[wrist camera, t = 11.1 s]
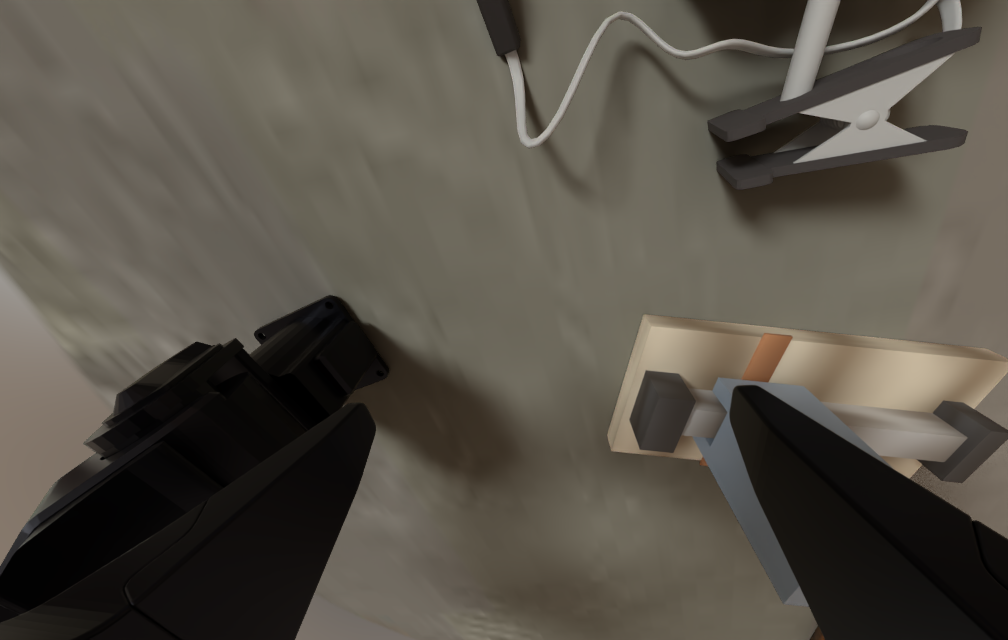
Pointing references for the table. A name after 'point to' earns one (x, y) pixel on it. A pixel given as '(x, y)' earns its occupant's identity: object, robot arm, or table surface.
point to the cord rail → (812, 390)
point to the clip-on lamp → (795, 92)
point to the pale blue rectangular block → (737, 484)
